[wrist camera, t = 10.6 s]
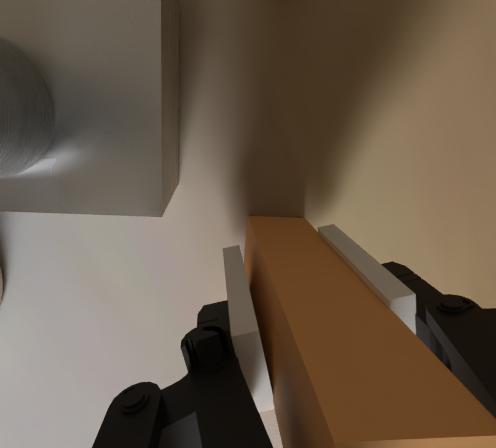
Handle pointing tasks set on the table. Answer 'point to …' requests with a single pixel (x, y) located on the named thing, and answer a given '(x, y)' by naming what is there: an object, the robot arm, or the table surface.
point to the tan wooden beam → (347, 353)
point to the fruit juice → (1, 285)
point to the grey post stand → (89, 106)
